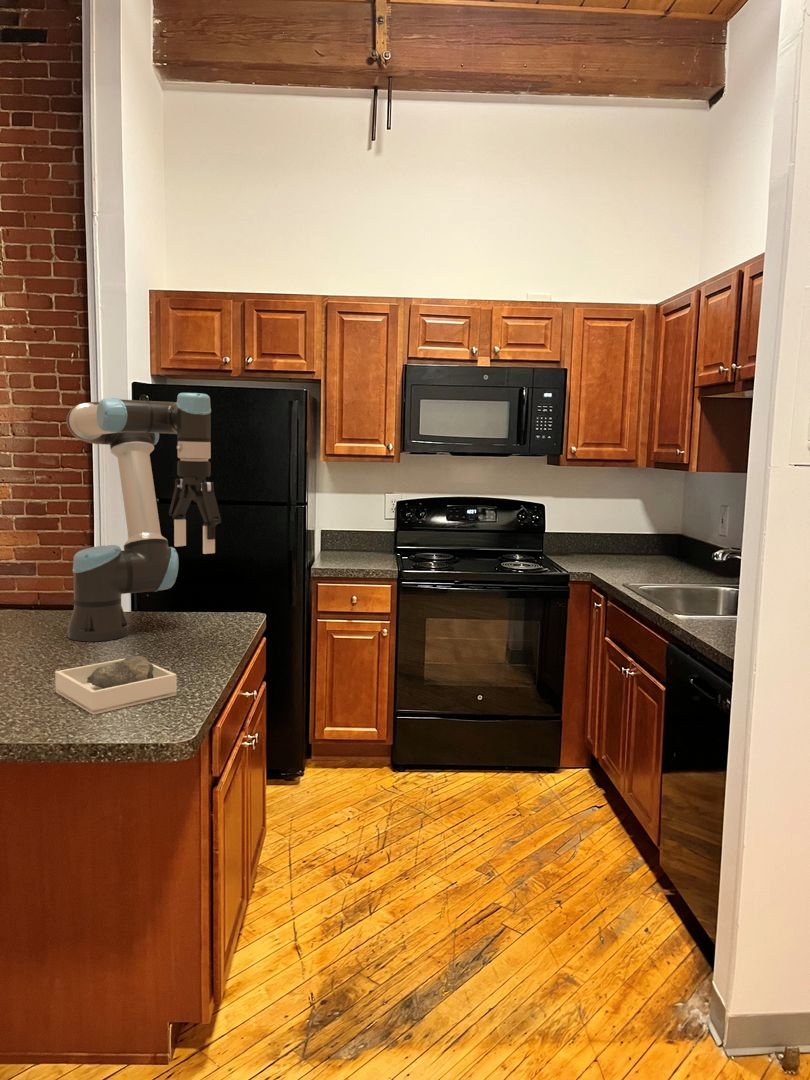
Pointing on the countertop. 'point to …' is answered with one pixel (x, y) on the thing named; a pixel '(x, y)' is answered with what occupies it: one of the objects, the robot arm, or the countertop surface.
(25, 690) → the countertop surface
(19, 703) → the countertop surface
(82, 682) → the dish
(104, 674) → the rock
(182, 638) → the countertop surface
